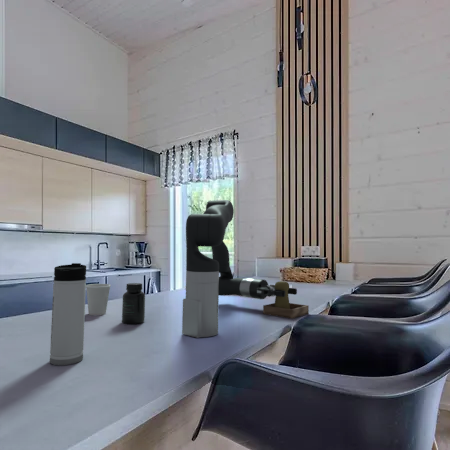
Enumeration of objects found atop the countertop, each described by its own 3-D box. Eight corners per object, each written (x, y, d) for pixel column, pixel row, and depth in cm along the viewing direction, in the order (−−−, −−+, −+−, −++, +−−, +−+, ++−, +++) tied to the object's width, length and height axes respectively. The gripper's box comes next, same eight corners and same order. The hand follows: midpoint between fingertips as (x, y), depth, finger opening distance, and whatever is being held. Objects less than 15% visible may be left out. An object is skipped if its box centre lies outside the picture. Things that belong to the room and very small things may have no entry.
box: (292, 318, 115) (292, 309, 115) (263, 313, 122) (263, 305, 123) (308, 313, 124) (308, 305, 124) (280, 309, 132) (280, 301, 132)
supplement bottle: (133, 319, 111) (134, 282, 112) (149, 321, 107) (150, 283, 108) (117, 322, 105) (118, 283, 106) (132, 325, 101) (134, 285, 102)
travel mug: (88, 355, 74) (91, 263, 75) (75, 365, 67) (79, 264, 69) (58, 355, 74) (63, 263, 75) (43, 365, 67) (48, 264, 68)
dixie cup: (79, 315, 115) (80, 285, 116) (94, 310, 123) (95, 283, 124) (100, 316, 113) (101, 286, 114) (114, 312, 121) (115, 284, 122)
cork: (289, 311, 125) (289, 281, 126) (291, 313, 119) (291, 282, 120) (273, 310, 126) (273, 280, 127) (273, 313, 120) (273, 281, 121)
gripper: (243, 279, 128) (280, 283, 117) (264, 277, 139) (300, 280, 128) (242, 299, 127) (280, 305, 117) (264, 296, 138) (300, 300, 128)
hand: (290, 292), depth 122 cm, fingers open, 8 cm apart
